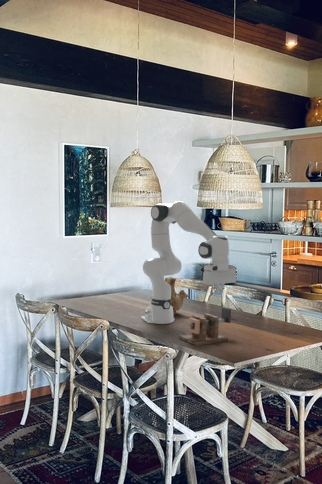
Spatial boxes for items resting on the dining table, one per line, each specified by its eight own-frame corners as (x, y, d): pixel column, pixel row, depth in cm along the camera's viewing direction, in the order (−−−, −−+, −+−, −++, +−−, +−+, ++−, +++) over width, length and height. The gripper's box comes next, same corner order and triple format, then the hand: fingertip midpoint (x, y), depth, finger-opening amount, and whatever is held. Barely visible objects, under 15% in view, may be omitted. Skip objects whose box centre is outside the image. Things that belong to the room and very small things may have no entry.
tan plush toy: (189, 314, 337) (190, 276, 335) (168, 318, 325) (168, 278, 323) (170, 310, 351) (171, 273, 349) (149, 313, 338) (149, 275, 336)
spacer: (188, 331, 275) (189, 317, 275) (191, 330, 276) (192, 317, 276) (196, 334, 269) (196, 320, 269) (199, 333, 270) (199, 320, 270)
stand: (179, 338, 278) (179, 315, 277) (209, 334, 288) (210, 311, 287) (196, 345, 264) (197, 321, 263) (227, 340, 275) (228, 317, 274)
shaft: (186, 325, 274) (186, 311, 273) (223, 320, 286) (224, 307, 286) (192, 327, 269) (193, 313, 268) (230, 322, 281) (231, 309, 281)
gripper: (231, 264, 287) (231, 289, 288) (201, 266, 276) (200, 292, 277) (239, 265, 281) (238, 291, 282) (208, 267, 271) (207, 294, 272)
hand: (219, 291), depth 280 cm, fingers closed
